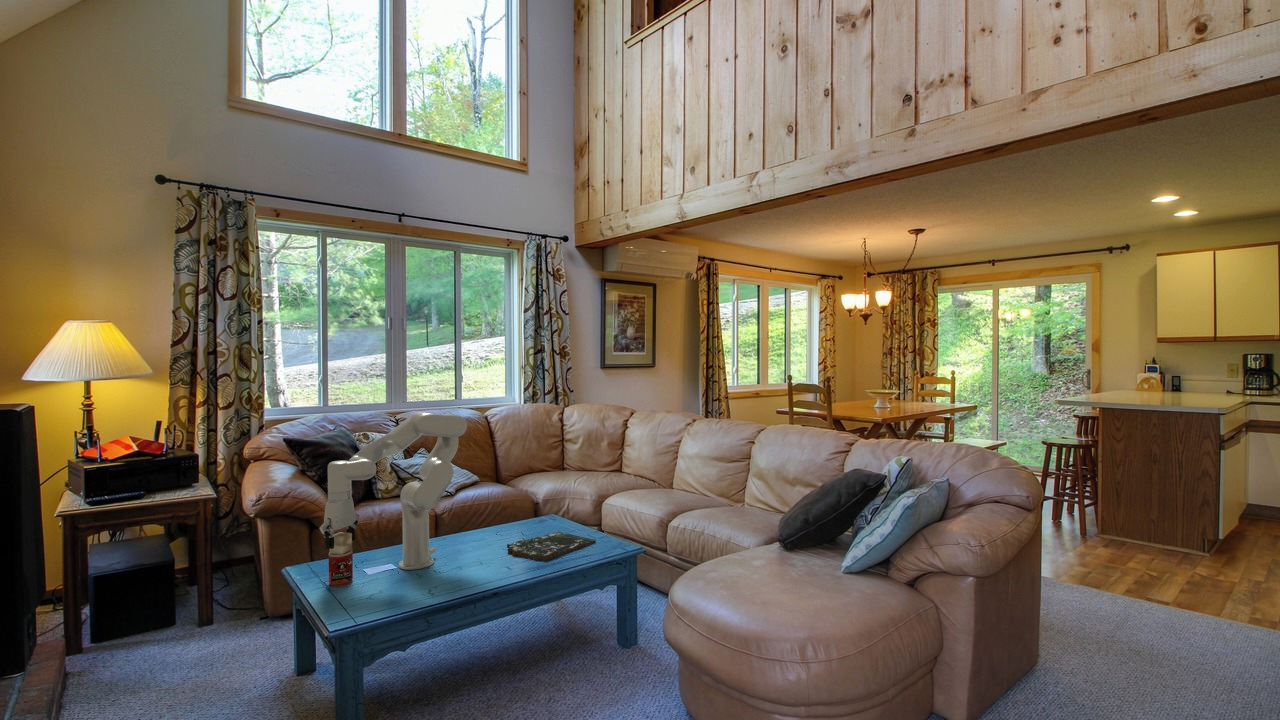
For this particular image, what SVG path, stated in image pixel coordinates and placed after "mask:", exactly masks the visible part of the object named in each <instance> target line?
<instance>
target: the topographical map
mask: <svg viewBox="0 0 1280 720" xmlns="http://www.w3.org/2000/svg"><path fill="white" fill-rule="evenodd" d="M595 543H597V542H596V539H593V538H589V537H583V536H580V535H575V534H571V533H565V532H561V531H556V532H552V533H547V534H544V535H541V536H536V537H532V538H528V539H521V540H518V541H515V542H511V543H508V544H506V548H507V555H512V557H513V558H522V559H523V558H524V559H528V560H533V561H539V562H544V563H545V562H547V561H551V560H553V559H556V558H558V557H561V556H565V555H566V554H569V553H571V552H572V553H573V552H575V551H577V550H580V549H582V548H584V547H587V546H591V545H592V544H595Z"/></svg>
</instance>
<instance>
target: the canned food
mask: <svg viewBox="0 0 1280 720" xmlns="http://www.w3.org/2000/svg"><path fill="white" fill-rule="evenodd" d="M353 553H354V552H353V549H352V550H351V551H348V552H346V553H343V554H333V553H330V551H329V552H328V583H329V586H332V587H342V586H346V585H349V584H351V583H352V582H353V579H354V576H353V575H354V572H353V571H354V570H353V569H354V565H353V563H354V562H353V560H354V556H353V555H354V554H353Z"/></svg>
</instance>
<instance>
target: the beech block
mask: <svg viewBox="0 0 1280 720" xmlns="http://www.w3.org/2000/svg"><path fill="white" fill-rule="evenodd" d="M332 537H334V548H333V549H329V552H330V553H333V554H343V553H346V552H348V551H351V550H352V551H353V541H352V533H347V532H345V531H344V532H342V531H341V532H337V533H334V535H333V536H332Z"/></svg>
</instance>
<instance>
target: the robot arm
mask: <svg viewBox="0 0 1280 720" xmlns="http://www.w3.org/2000/svg"><path fill="white" fill-rule="evenodd" d="M467 429H468V423H467V421H466V419H465V417H462V416H461V415H457V414H450V413H443V414H441V413H440V414H439V413H431V412H424V411H417V412H415V413H413V414H411V415H410V416H408V417H407V418H406V419H404V420H403V421H402V422H401V423H399V424H398V425H397V426H395V428H393V429H391V431H389V432H388V433H386V434H385V435H383V436H381V437H379V438H378V439H376V440H374V441H372V442H371V443H369V444H367V445H365V447H363V448H361V449H360V450H359V451H358V452H356V453H355V454H354V455H352V456H351V458H349V460H334V461H330V462H329V463H328V464H327V497H328V498H327V501H326V503H325V507H324V516H323V523H322V524H321V525H320V526H319V530H320V532H321V533H320V534H321V535H322V536H323V538H325V541H324V542H325V544H324V545H325V546H324V547H325V549H328V550H330V549H333V548H334V537H332V536H333V535H334V534H336V533H335V532H336V531H339V530H343V529H345V528H346V532H345V533H352V542H354V541H355V540H356V529H357V525H358V523H359V519H360V514H358V513H356V512H355V505H354V500H353V497H352V494H353V490H352V481H366V480H369V479H372V478H373V477H374V476H375V475H376V472H377V465H376V463H378V462H379V461H380V460H382V459H384V458H386V457H389V456H392V455H397V454H399V453H402V452H403V451H404V450H406V449H407V448H408V447H409V446H411V445H412V444H413V443H414V442H415V441H416V440H418V439H419V438H421V437H422V436H428V437H437V440H436V443H435V445H434V446H433V449H431V451H430V453H428V455H427V457H426V458H425V460H424V461H423V463H422V464H421V466H420V468H419V476H420V478H421V479H422V480H423V481H422V482H420V481H411V482H408V483H406V484H405V485H404V486H403V487H402V489H401V491H400V496H399V497H400V499H399V500H400V507H401V513H402V560H400V561H399V562H398V568H399V569H402V570H408V571H412V570H420V569H424V568H428V567H431V566H432V565H433V564H434V561H435V559H434V558H433V557H432V556H431V555H432V554H434V553H436V551H437V549H436V548H435V547H432V548H430V516H429V511H430V510H431V509H433V508H434V507H435V506H436V505H437V504H438V502H439V501H440V499H441V497H442V496H443V495H444V493H445V491H446V490H447V488H448V487H449V486H450V484H451V482H452V480H453V478H454V473H455V472H454V471H455V470H454V467H453V465H452V464H451V462H452V461H453V458H454V457H455V456H456V453H457V452H458V448H459V442H460V441H459V437H461V436H462V435H464V434H465V433H466V431H467Z"/></svg>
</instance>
